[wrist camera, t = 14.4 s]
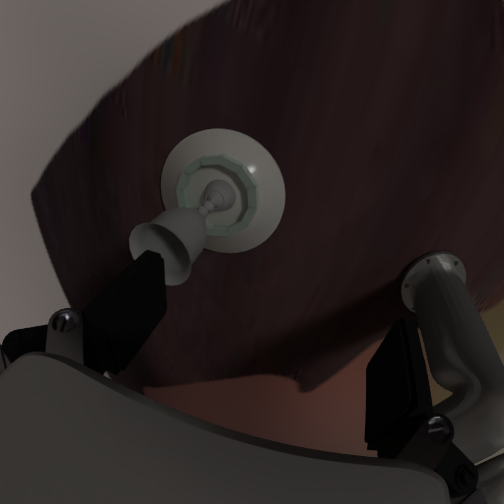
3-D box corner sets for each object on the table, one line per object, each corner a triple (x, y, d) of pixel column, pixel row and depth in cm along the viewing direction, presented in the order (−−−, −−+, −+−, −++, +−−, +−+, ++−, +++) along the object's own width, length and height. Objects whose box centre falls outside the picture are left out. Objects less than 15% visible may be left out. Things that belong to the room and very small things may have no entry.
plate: (310, 217, 41) (309, 224, 39) (210, 267, 50) (205, 274, 48) (235, 101, 35) (229, 101, 33) (142, 175, 44) (135, 179, 42)
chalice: (252, 196, 41) (205, 260, 26) (224, 225, 44) (171, 296, 29) (214, 163, 39) (145, 207, 24) (190, 195, 43) (120, 251, 28)
